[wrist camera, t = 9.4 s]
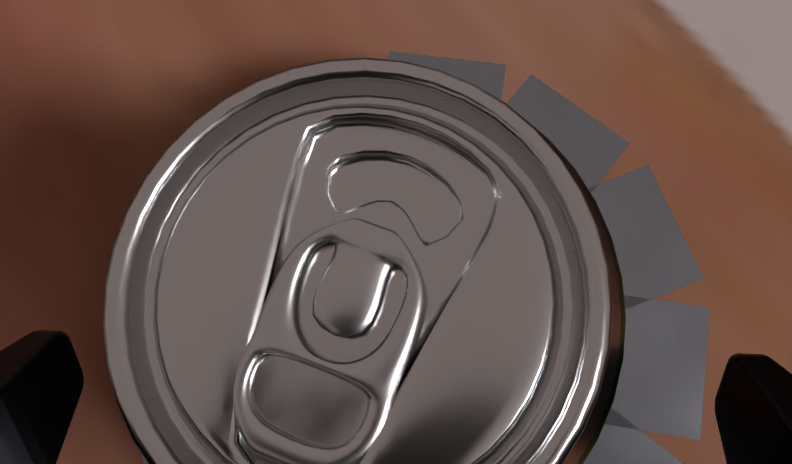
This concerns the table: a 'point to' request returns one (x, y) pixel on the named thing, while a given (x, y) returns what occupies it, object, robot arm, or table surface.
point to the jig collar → (623, 272)
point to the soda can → (363, 281)
